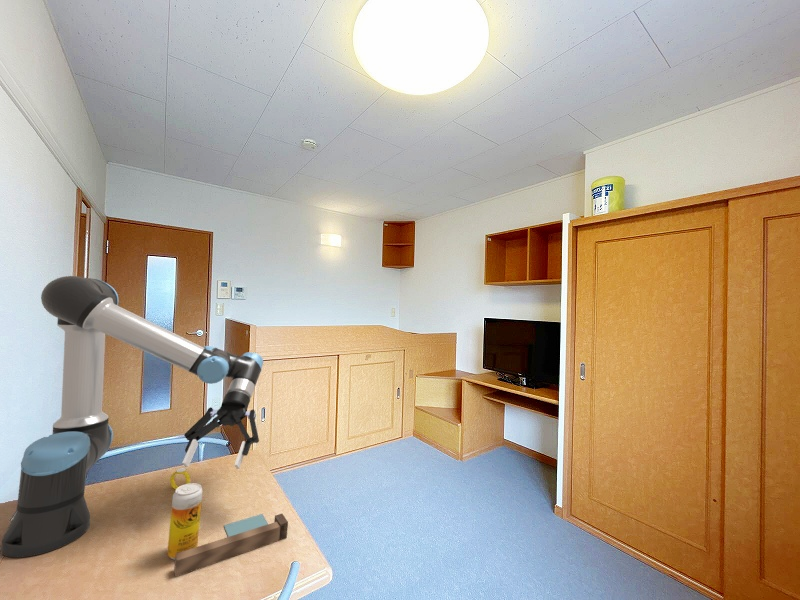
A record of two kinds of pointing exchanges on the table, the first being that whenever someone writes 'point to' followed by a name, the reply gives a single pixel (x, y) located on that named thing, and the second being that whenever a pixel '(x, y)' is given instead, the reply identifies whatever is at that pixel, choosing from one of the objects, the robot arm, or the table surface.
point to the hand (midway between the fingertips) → (211, 466)
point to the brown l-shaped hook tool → (230, 546)
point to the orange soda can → (184, 519)
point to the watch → (179, 471)
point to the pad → (245, 525)
